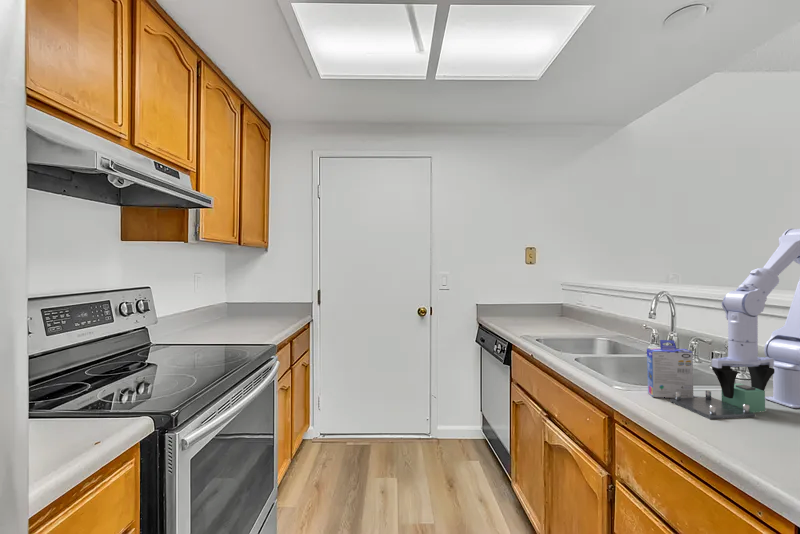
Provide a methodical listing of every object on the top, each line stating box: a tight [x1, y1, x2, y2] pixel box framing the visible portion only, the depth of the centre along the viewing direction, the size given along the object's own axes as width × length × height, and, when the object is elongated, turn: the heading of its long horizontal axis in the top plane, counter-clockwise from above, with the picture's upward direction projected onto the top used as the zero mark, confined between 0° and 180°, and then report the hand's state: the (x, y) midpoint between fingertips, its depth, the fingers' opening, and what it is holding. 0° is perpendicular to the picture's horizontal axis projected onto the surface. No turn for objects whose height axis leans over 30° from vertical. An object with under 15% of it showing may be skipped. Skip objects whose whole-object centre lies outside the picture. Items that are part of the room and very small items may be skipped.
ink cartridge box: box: [646, 339, 694, 399], centre depth 121 cm, size 10×6×14 cm, turn 78°
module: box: [721, 382, 766, 413], centre depth 110 cm, size 5×7×5 cm
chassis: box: [670, 390, 756, 420], centre depth 109 cm, size 11×13×3 cm
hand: (742, 396), depth 110 cm, fingers open, 7 cm apart
